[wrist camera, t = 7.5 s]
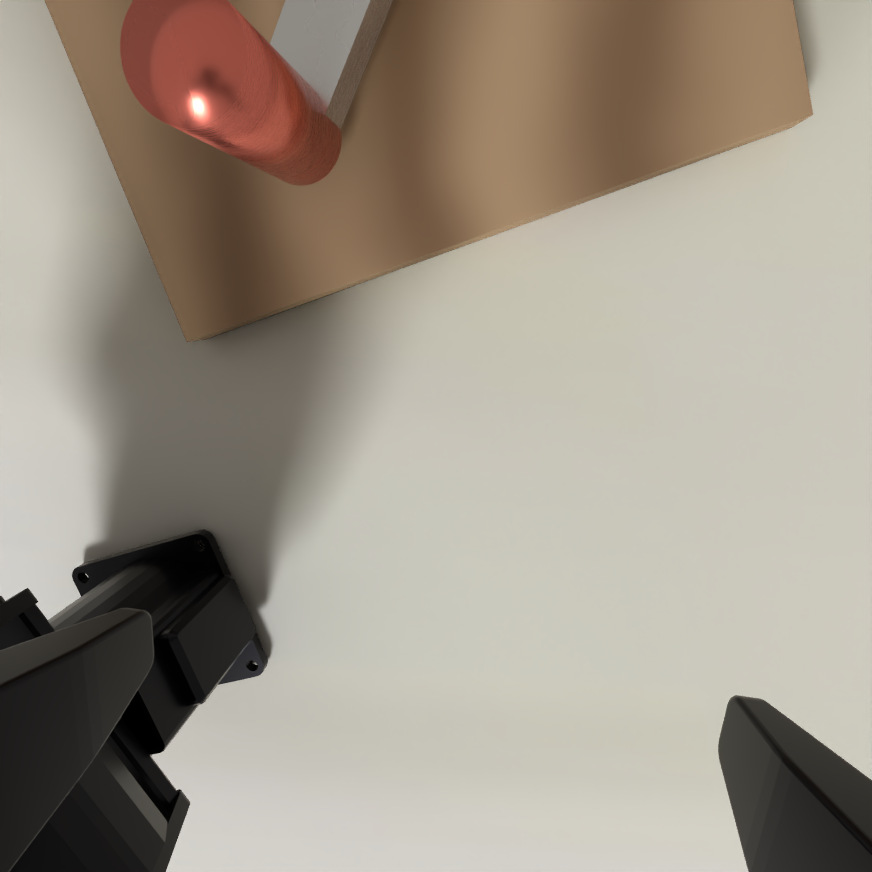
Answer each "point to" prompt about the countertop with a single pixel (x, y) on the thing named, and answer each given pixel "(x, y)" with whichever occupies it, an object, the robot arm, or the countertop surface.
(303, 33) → the lever
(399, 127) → the cracker base
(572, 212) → the countertop surface
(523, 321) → the countertop surface
